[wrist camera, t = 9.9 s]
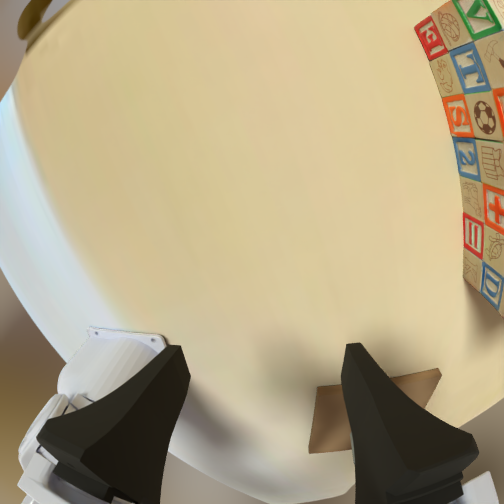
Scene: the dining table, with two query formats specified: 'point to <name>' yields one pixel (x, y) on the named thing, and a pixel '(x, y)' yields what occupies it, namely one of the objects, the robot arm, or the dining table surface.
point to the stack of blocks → (474, 127)
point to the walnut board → (335, 414)
